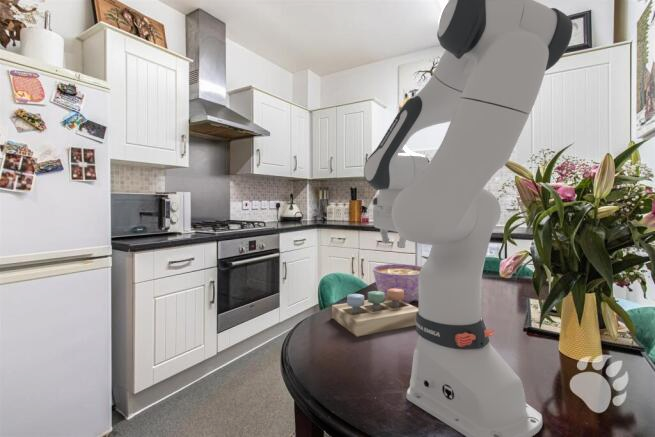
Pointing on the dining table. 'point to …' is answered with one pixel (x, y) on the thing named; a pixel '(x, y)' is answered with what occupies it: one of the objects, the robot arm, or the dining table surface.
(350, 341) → the dining table surface
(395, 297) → the button terracotta
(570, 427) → the dining table surface
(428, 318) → the robot arm
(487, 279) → the dining table surface
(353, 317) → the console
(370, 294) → the button green
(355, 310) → the button slate
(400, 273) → the bowl of food
